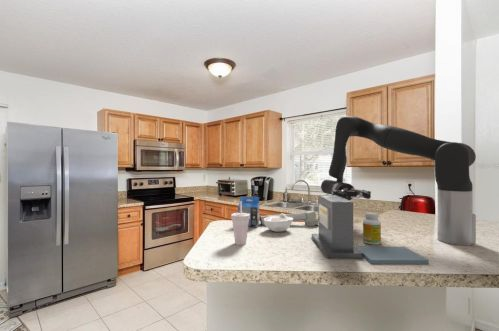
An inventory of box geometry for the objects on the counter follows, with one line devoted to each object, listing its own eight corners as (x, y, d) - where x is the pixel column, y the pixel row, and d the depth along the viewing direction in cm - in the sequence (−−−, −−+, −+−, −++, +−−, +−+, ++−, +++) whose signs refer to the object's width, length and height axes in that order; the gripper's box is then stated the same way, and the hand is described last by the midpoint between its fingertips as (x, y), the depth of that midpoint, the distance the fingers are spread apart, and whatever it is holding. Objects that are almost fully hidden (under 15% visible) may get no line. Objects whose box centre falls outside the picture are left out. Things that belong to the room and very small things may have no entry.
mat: (404, 249, 78) (404, 246, 78) (428, 263, 67) (428, 260, 67) (354, 249, 79) (354, 246, 79) (370, 263, 68) (370, 259, 68)
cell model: (259, 229, 104) (259, 212, 104) (284, 226, 109) (284, 210, 109) (270, 235, 95) (270, 217, 95) (298, 232, 99) (298, 214, 99)
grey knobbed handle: (259, 214, 115) (315, 207, 113) (261, 229, 115) (317, 222, 114) (259, 217, 110) (318, 209, 108) (261, 232, 110) (320, 225, 108)
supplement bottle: (373, 245, 82) (373, 215, 82) (359, 241, 87) (359, 212, 87) (384, 243, 85) (384, 214, 85) (370, 239, 90) (370, 211, 90)
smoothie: (253, 241, 88) (252, 200, 88) (245, 247, 82) (244, 203, 82) (236, 239, 90) (236, 199, 90) (227, 244, 85) (227, 202, 85)
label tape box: (237, 226, 109) (237, 197, 109) (239, 224, 113) (239, 196, 113) (257, 227, 107) (257, 198, 107) (259, 225, 111) (259, 196, 111)
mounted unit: (339, 237, 91) (339, 194, 91) (363, 258, 71) (363, 203, 71) (311, 237, 92) (311, 194, 91) (327, 258, 72) (326, 203, 71)
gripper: (326, 182, 114) (338, 186, 97) (359, 182, 113) (376, 186, 97) (326, 199, 114) (338, 205, 98) (359, 199, 113) (376, 206, 97)
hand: (357, 196), depth 97 cm, fingers open, 8 cm apart
